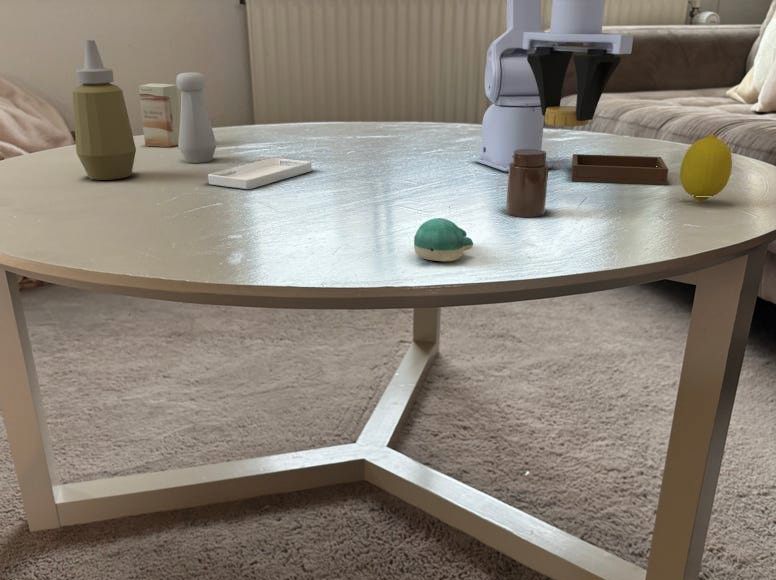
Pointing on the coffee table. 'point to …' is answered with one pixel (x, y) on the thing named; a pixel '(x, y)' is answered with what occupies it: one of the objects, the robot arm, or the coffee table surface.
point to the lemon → (706, 168)
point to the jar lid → (562, 116)
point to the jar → (527, 183)
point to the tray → (619, 169)
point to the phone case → (259, 173)
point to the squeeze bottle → (101, 121)
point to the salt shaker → (194, 120)
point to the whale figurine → (441, 240)
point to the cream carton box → (160, 114)
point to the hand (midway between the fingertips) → (567, 117)
